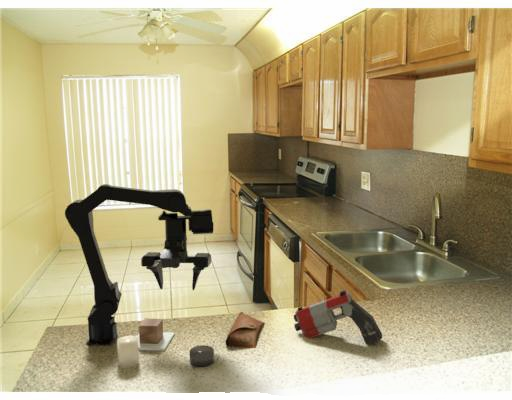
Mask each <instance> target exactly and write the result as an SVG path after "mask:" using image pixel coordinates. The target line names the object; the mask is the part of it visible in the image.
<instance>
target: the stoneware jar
mask: <svg viewBox="0 0 512 400" xmlns="http://www.w3.org/2000/svg"><path fill="white" fill-rule="evenodd" d="M136 336H137V335H124V336H122V337H120V338H119V337H118V339H117V340H116V343H117V347H116V348H117V364H118V367H119V368H121V369H122V368H123V369H129V368H130V369H131V368H134V367H136V366H138V365H139V363H140V352H139V351H140V350H139V345H138V337H136Z"/></svg>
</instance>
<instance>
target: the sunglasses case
mask: <svg viewBox="0 0 512 400" xmlns="http://www.w3.org/2000/svg"><path fill="white" fill-rule="evenodd" d="M264 325H265V322H264V321H261V320H259V319H257V318H255V317H252V316H250V315H248V314H246V313H245V312H243V311H241V312H239V314H238V315H237V317H236V319H234V321H233V323H232V326H231V328H230V330H229V331H228V334H227V336H226V339H225V346H226V347H227V348H243V349H256V347H257V341H258V337H259V335H260V332H261V330H262V327H264Z"/></svg>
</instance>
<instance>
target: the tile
mask: <svg viewBox="0 0 512 400" xmlns="http://www.w3.org/2000/svg"><path fill="white" fill-rule="evenodd" d="M175 335H176V334H175V332H171V331H170V332H167V331H166V332H165V331H163V337H162V339H161V340H160V341H159V343H158V344H143V343H140V340H139V333H138V334H136V335H135V336H136V337H138V345H139V351H163V352H164V351H166V349H167V347H168V346H169V344H170V343H171V341H172V339H173V338H174V336H175Z"/></svg>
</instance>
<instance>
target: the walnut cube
mask: <svg viewBox="0 0 512 400" xmlns="http://www.w3.org/2000/svg"><path fill="white" fill-rule="evenodd" d="M163 322H164V321H163V318H144V319H143V320H142V321H141V322H140V324H139V325H138V334H139V340H140V343H143V344H158V343H159V341H160V340H161V339H162V337H163V332H164V323H163Z"/></svg>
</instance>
